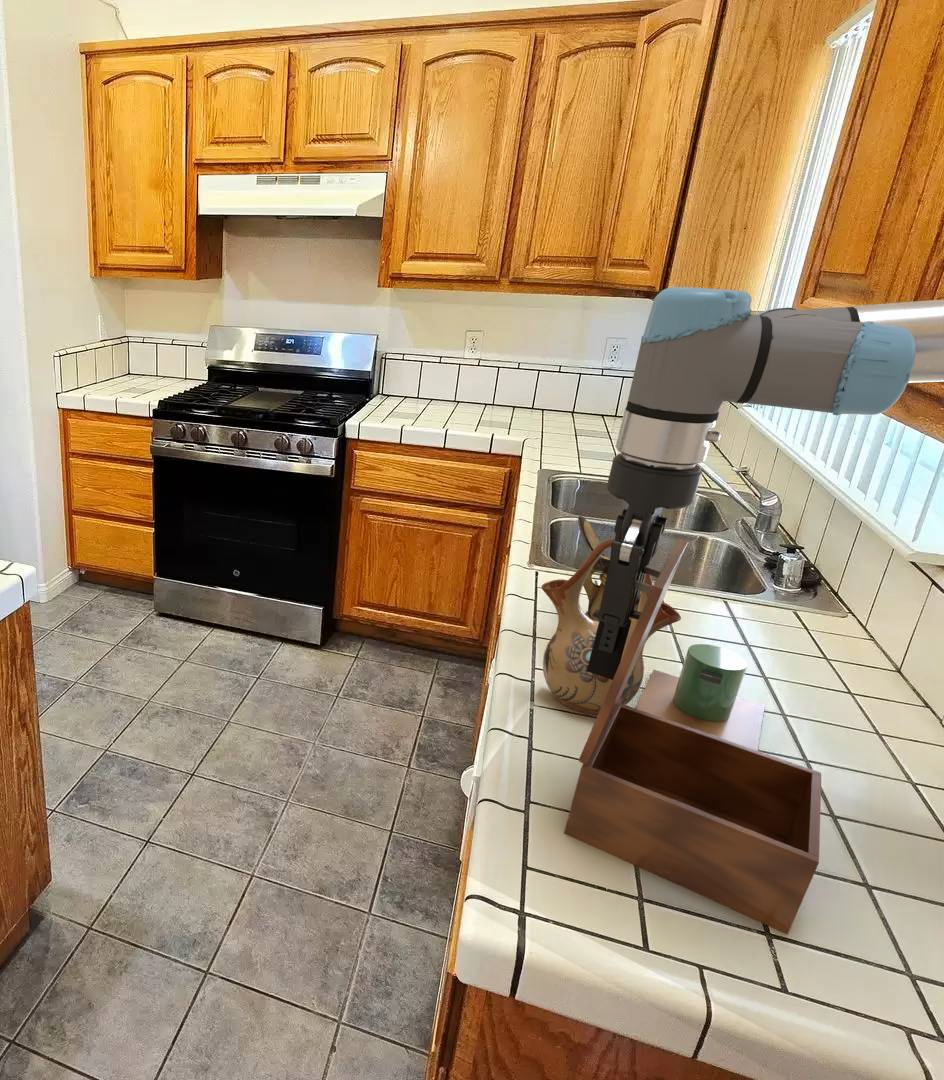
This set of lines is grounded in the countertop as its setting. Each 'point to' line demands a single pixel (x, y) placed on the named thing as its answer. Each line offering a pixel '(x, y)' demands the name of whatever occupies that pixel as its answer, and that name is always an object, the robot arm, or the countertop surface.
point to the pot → (709, 682)
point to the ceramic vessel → (588, 643)
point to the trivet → (736, 729)
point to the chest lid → (634, 644)
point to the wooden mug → (594, 569)
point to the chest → (702, 814)
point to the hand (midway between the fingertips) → (601, 672)
